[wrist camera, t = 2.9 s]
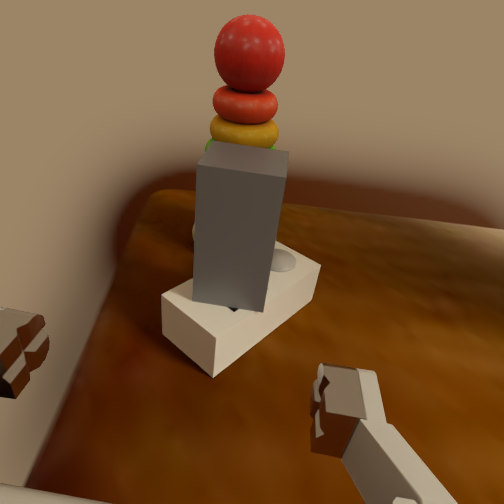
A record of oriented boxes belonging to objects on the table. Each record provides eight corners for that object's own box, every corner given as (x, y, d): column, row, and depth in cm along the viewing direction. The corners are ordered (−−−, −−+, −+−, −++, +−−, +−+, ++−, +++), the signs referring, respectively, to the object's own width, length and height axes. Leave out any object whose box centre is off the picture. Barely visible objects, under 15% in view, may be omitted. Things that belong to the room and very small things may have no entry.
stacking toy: (195, 219, 40) (202, 6, 29) (271, 225, 40) (304, 19, 30) (187, 263, 33) (193, 9, 23) (278, 269, 34) (323, 26, 23)
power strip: (264, 271, 33) (270, 235, 31) (311, 299, 31) (321, 262, 29) (162, 333, 26) (161, 292, 24) (212, 378, 23) (216, 335, 21)
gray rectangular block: (258, 337, 25) (286, 177, 19) (191, 326, 25) (196, 164, 19) (264, 298, 28) (288, 151, 22) (204, 288, 28) (212, 140, 22)
